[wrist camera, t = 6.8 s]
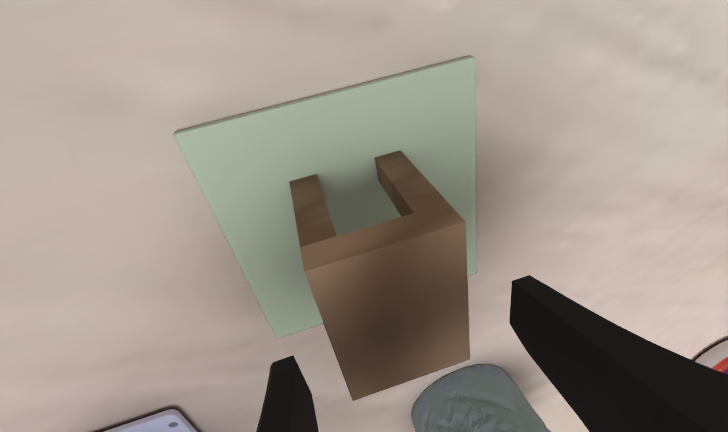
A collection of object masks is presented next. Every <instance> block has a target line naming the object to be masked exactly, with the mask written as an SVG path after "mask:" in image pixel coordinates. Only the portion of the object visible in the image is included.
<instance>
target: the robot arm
mask: <svg viewBox="0 0 728 432" xmlns="http://www.w3.org/2000/svg"><path fill="white" fill-rule="evenodd" d="M510 325H511V326H512V328H513V330H514V331H515V333H516V335H517V336H518V338H519V339H520V341H521V343H522V344H523V346H524V347H525V349H526V350H527V352H528V353H529V355H530V356H531V357H532V358H533V360H534V361H535V362H536V364H537V365H538V366H539V367H540V369H541V370H542V371H543V372H544V374H545V375H546V376H547V378H548V379H549V380H550V381H551V383H552V384H553V385H554V386H555V388H556V389H557V390H558V391H559V393H560V394H561V395H562V396H563V398H564V399H565V400H566V401H567V403H568V404H569V405H570V406H571V408H572V409H573V410H574V411H575V413H576V414H577V415H578V417H579V418H580V419H581V421H582V422H583V423H584V425H585V426H586V427H587V429H588V430H589V432H728V374H725V373H722V372H720V371H717V370H714V369H712V368H709V367H707V366H705V365H702V364H700V363H697V362H695V361H692V360H690V359H688V358H686V357H683V356H681V355H679V354H676V353H674V352H672V351H670V350H667V349H665V348H663V347H661V346H658V345H656V344H654V343H652V342H650V341H648V340H646V339H644V338H642V337H640V336H638V335H636V334H634V333H632V332H630V331H628V330H626V329H624V328H622V327H620V326H618V325H616V324H614V323H612V322H610V321H608V320H607V319H605V318H603V317H601V316H599V315H597V314H596V313H594V312H592V311H590V310H588V309H587V308H585V307H583V306H581V305H580V304H578V303H576V302H574V301H573V300H571V299H569V298H567V297H566V296H564V295H562V294H561V293H559V292H557V291H555V290H554V289H552V288H550V287H549V286H547V285H545V284H544V283H542V282H540V281H538V280H537V279H535V278H533V277H532V276H530V275H529V276H526V277H523V278H520V279H517V280H514V281H512V292H511V307H510ZM104 432H197V431H196V430H195V429H194V428H193V427H192V425H191V424H190V423H189V422H188V421H187V420H186V419H185V418H184V417H183V416H182V415H181V414H180V412H178V411H177V410H174V409H170V410H166V411H163V412H160V413H157V414H154V415H151V416H148V417H145V418H142V419H139V420H136V421H133V422H130V423H127V424H124V425H121V426H118V427H115V428H112V429H110V430H107V431H104ZM256 432H318V426H317V420H316V415H315V409H314V404H313V399H312V394H311V391H310V389H309V387H308V385H307V383H306V381H305V379H304V377H303V375H302V373H301V371H300V369H299V366H298V364H297V362H296V360H295V358H294V356H290V357H287V358H284V359H282V360H279V361H276V362H273V363H272V365H271V368H270V374H269V379H268V385H267V390H266V395H265V399H264V403H263V408H262V412H261V416H260V420H259V424H258V427H257V431H256Z"/></svg>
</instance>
